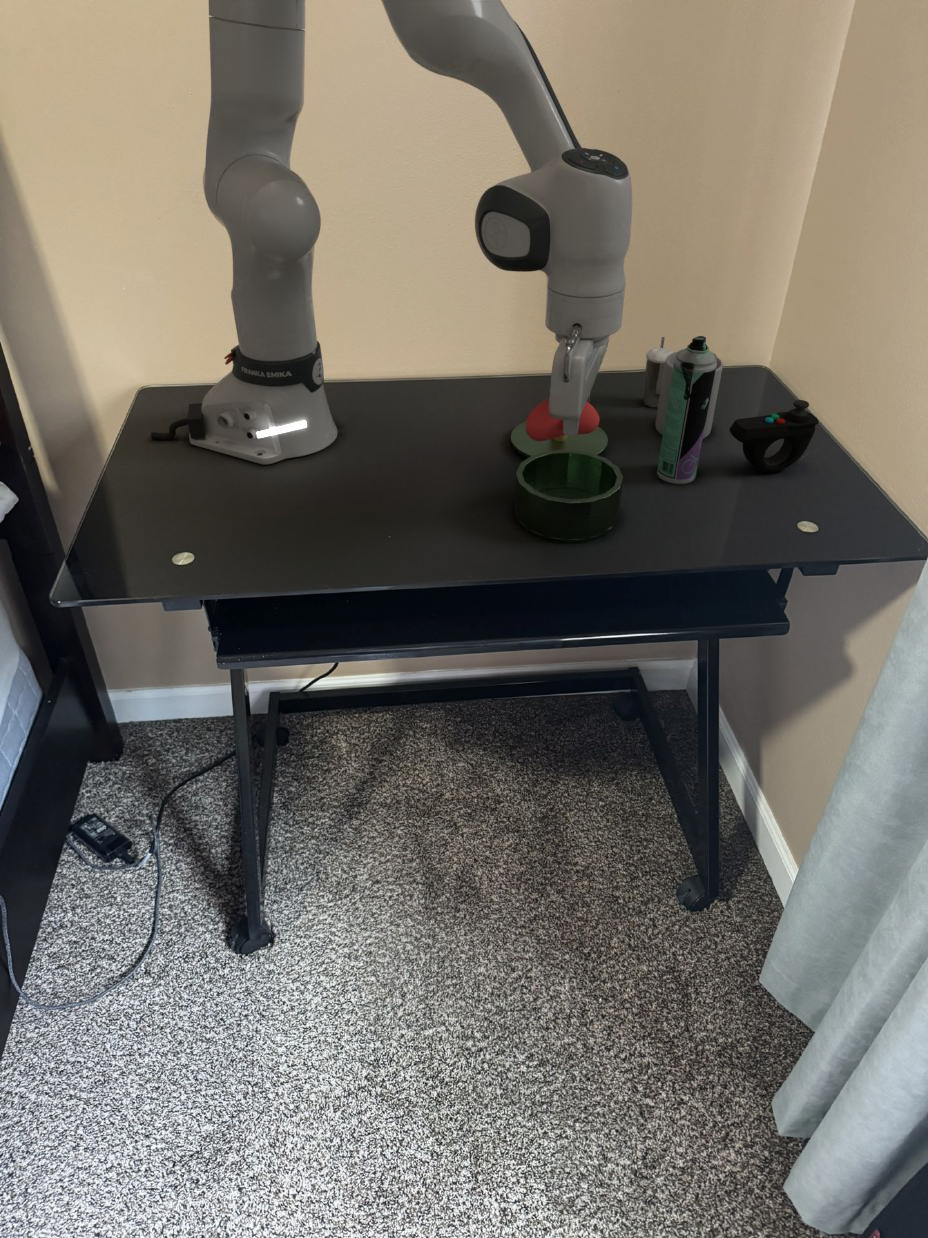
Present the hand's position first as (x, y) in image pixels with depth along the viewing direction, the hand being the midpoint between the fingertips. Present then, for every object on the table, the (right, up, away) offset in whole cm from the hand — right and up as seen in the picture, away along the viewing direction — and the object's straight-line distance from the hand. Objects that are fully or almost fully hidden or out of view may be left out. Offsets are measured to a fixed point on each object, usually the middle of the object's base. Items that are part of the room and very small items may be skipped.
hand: (576, 420), depth 109 cm
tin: (0, -11, +8) cm, 13 cm away
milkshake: (+17, +11, +35) cm, 40 cm away
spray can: (+16, -4, +16) cm, 24 cm away
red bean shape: (-2, -2, +1) cm, 3 cm away
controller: (+29, -3, +18) cm, 34 cm away
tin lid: (0, +2, +23) cm, 23 cm away
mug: (+20, +4, +26) cm, 33 cm away
